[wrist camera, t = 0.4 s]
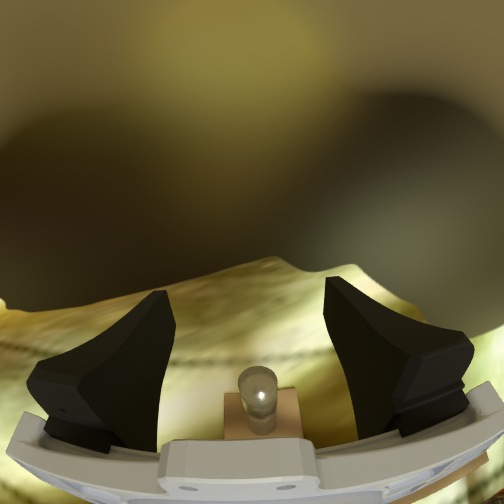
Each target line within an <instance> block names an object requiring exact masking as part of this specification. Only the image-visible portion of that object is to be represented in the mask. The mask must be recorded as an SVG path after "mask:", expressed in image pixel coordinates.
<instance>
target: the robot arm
mask: <svg viewBox="0 0 504 504" xmlns="http://www.w3.org/2000/svg"><path fill="white" fill-rule="evenodd" d="M323 315H324V319H325V323H326V327H327V331H328V333H329V336H330V338H331V341H332V343H333V346H334V348H335V350H336V353H337V355H338V358H339V360H340V362H341V365H342V367H343V370H344V373H345V376H346V380H347V384H348V387H349V391H350V396H351V400H352V405H353V409H354V414H355V420H356V425H357V432H358V439H359V440H358V441H354V442H350V443H346V444H341V445H336V446H332V447H326V448H321V449H315V447H314V445H313V443H312V441H309V440H307V439H303V438H299V437H296V436H286V437H280V436H277V437H266V438H251V439H175V440H172V441H170V442H168V443H166V444H164V445H162V448H161V453H157V425H158V412H159V402H160V395H161V388H162V383H163V379H164V375H165V372H166V368H167V365H168V361H169V358H170V354H171V351H172V347H173V343H174V337H175V330H176V323H175V320H174V316H173V313H172V309H171V306H170V302H169V298H168V295H167V291H166V290H158V291H153V292H152V293H150V294H149V295H148V296H147V297H146V298H144V299H143V300H142V301H141V302H140V303H139V304H138V305H136V306H135V307H134V308H133V309H132V310H131V311H130V312H128V313H127V314H126V315H125V316H124V317H122V318H121V319H120V320H119V321H117V322H116V323H115V324H114V325H112V326H111V327H110V328H108V329H107V330H105V331H104V332H102V333H101V334H99V335H98V336H96V337H95V338H93V339H91V340H89V341H87V342H86V343H84V344H82V345H80V346H78V347H76V348H74V349H72V350H70V351H67V352H65V353H62V354H60V355H57V356H54V357H51V358H48V359H45V360H41V361H38V363H37V364H36V366H35V368H34V369H33V371H32V373H31V374H30V376H29V378H28V379H27V381H26V383H27V388H28V390H29V392H30V394H31V395H32V396H33V398H34V399H35V400H36V401H37V403H38V404H39V405H40V406H41V407H42V408H43V410H44V411H45V412H46V413H47V414H48V415H49V417H48V420H47V421H46V420H44V419H43V418H41V417H39V416H36V415H33V414H31V413H28V412H24V413H23V415H22V417H21V419H20V421H19V423H18V425H17V427H16V429H15V431H14V434H13V436H12V438H11V440H10V443H9V445H8V447H7V450H6V454H7V455H8V456H9V457H11V458H12V459H13V460H14V461H16V462H17V463H18V464H20V465H21V466H22V467H23V468H25V469H26V470H28V471H29V472H30V473H32V474H33V475H35V476H36V477H37V478H39V479H40V480H42V481H44V482H46V483H48V484H50V485H52V486H54V487H57V488H59V489H61V490H63V491H65V492H68V493H70V494H72V495H74V496H77V497H79V498H82V499H84V500H87V501H89V502H92V503H94V504H387V503H389V502H392V501H394V500H397V499H399V498H402V497H404V496H406V495H409V494H411V493H413V492H415V491H417V490H419V489H421V488H424V487H426V486H428V485H430V484H431V483H433V482H435V481H437V480H439V479H441V478H443V477H445V476H446V475H448V474H450V473H452V472H453V471H455V470H457V469H459V468H460V467H462V466H464V465H465V464H467V463H468V462H470V461H472V460H473V459H475V458H476V457H478V456H479V455H481V454H482V453H484V452H485V451H486V450H487V449H488V448H489V447H490V446H491V445H492V444H494V443H495V442H496V441H497V440H498V439H499V438H500V437H501V436H502V435H503V434H504V403H503V401H502V400H501V398H500V397H499V395H498V394H497V392H496V390H495V389H494V387H493V386H492V384H491V383H490V381H486V382H485V383H483V384H481V385H479V386H477V387H475V388H473V389H472V390H470V391H469V392H468V393H467V394H466V395H465V394H464V392H463V390H462V389H463V388H464V387H465V384H464V383H463V381H462V377H463V375H464V374H465V372H466V370H467V368H468V367H469V365H470V363H471V361H472V359H473V356H474V351H475V349H474V345H473V344H472V343H471V341H470V340H469V339H468V338H467V337H466V335H465V334H464V333H463V332H461V331H456V330H449V329H443V328H439V327H436V326H432V325H428V324H425V323H422V322H419V321H416V320H413V319H411V318H408V317H406V316H403V315H401V314H399V313H397V312H395V311H393V310H391V309H389V308H387V307H385V306H383V305H382V304H380V303H378V302H377V301H375V300H373V299H372V298H370V297H369V296H367V295H366V294H364V293H363V292H361V291H360V290H358V289H357V288H355V287H354V286H353V285H351V284H350V283H348V282H347V281H345V280H344V279H343V278H341V277H339V276H334V277H326V281H325V296H324V308H323Z"/></svg>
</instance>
